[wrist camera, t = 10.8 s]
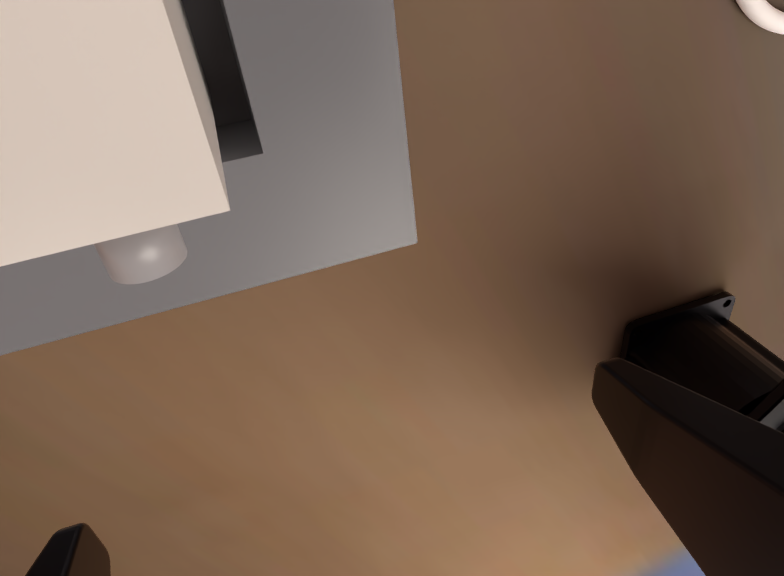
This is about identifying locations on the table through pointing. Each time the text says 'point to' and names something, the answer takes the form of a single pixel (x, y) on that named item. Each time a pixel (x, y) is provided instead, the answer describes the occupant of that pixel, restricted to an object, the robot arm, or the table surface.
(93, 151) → the plug
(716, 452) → the robot arm
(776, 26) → the earphone
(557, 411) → the table surface
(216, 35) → the socket block
